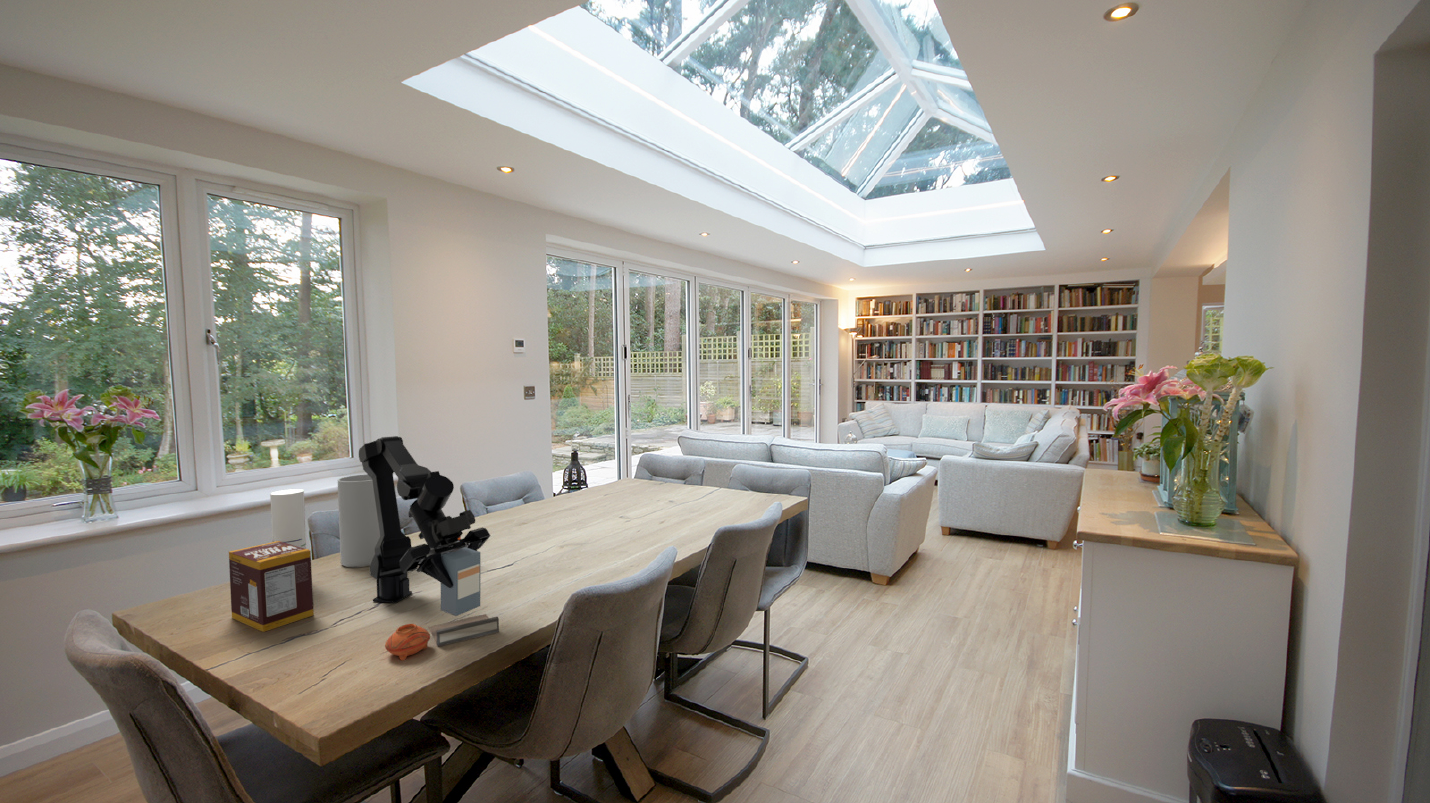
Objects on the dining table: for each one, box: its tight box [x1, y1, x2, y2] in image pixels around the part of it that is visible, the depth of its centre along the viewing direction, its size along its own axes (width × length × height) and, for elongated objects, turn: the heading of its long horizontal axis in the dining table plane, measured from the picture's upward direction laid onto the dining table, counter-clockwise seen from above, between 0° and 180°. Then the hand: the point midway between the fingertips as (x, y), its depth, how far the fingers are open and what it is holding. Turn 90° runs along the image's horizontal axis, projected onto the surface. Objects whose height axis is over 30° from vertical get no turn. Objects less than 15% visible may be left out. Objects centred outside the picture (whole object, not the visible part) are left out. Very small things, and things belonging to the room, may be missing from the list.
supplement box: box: [228, 541, 315, 633], centre depth 138 cm, size 10×15×16 cm
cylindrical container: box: [269, 488, 307, 549], centre depth 157 cm, size 7×7×25 cm
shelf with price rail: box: [428, 613, 500, 648], centre depth 129 cm, size 11×12×4 cm
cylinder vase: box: [337, 473, 380, 568], centre depth 177 cm, size 12×12×25 cm
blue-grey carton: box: [440, 548, 481, 617], centre depth 127 cm, size 5×6×12 cm
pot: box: [384, 623, 431, 661], centre depth 119 cm, size 8×8×7 cm
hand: (464, 581), depth 127 cm, fingers closed on blue-grey carton, 6 cm apart
